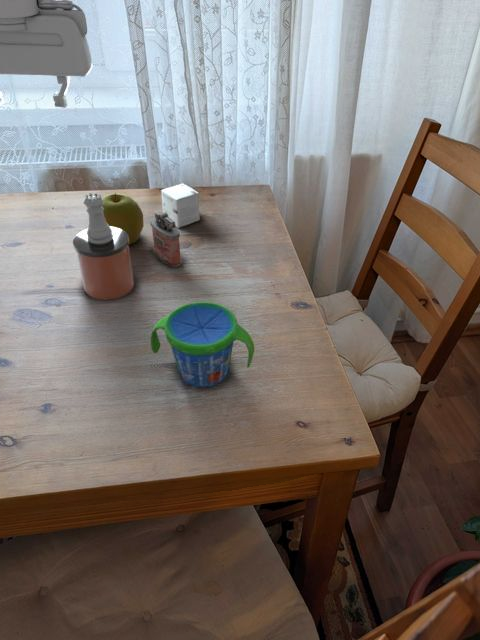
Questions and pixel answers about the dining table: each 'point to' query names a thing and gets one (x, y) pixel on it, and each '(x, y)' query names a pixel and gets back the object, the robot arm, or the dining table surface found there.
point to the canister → (105, 265)
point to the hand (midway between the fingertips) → (29, 105)
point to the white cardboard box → (181, 204)
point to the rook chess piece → (97, 221)
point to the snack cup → (202, 341)
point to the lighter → (166, 239)
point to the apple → (123, 215)
